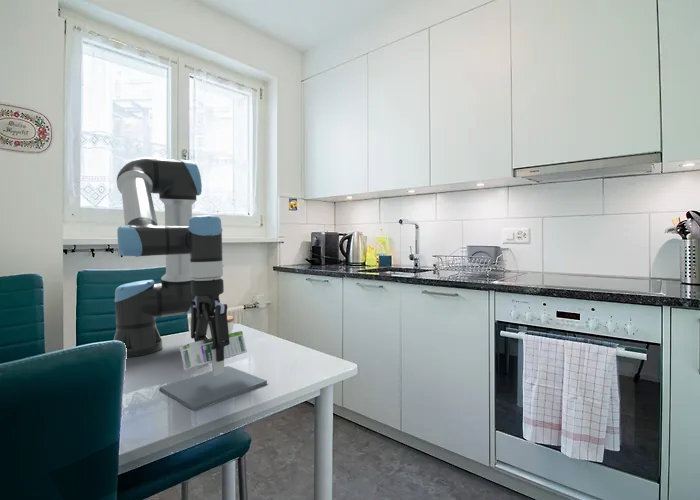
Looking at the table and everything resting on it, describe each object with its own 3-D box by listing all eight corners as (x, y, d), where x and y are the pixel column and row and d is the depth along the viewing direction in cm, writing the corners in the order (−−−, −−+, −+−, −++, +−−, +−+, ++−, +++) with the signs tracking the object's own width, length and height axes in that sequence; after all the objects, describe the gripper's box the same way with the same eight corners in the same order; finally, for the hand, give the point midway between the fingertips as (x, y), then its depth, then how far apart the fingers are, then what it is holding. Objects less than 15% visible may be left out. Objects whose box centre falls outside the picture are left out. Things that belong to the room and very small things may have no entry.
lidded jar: (240, 336, 142) (239, 312, 142) (219, 344, 133) (218, 317, 132) (219, 334, 147) (218, 310, 147) (197, 341, 137) (196, 315, 137)
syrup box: (247, 352, 97) (193, 367, 86) (236, 355, 101) (182, 371, 90) (242, 330, 98) (188, 343, 87) (231, 334, 102) (178, 347, 91)
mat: (159, 390, 93) (159, 386, 93) (228, 368, 107) (228, 365, 107) (194, 411, 81) (194, 407, 81) (266, 383, 95) (266, 380, 95)
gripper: (243, 279, 89) (246, 374, 90) (201, 275, 102) (204, 358, 103) (214, 282, 83) (217, 384, 84) (173, 277, 96) (177, 366, 97)
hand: (210, 370), depth 93 cm, fingers closed on syrup box, 7 cm apart
